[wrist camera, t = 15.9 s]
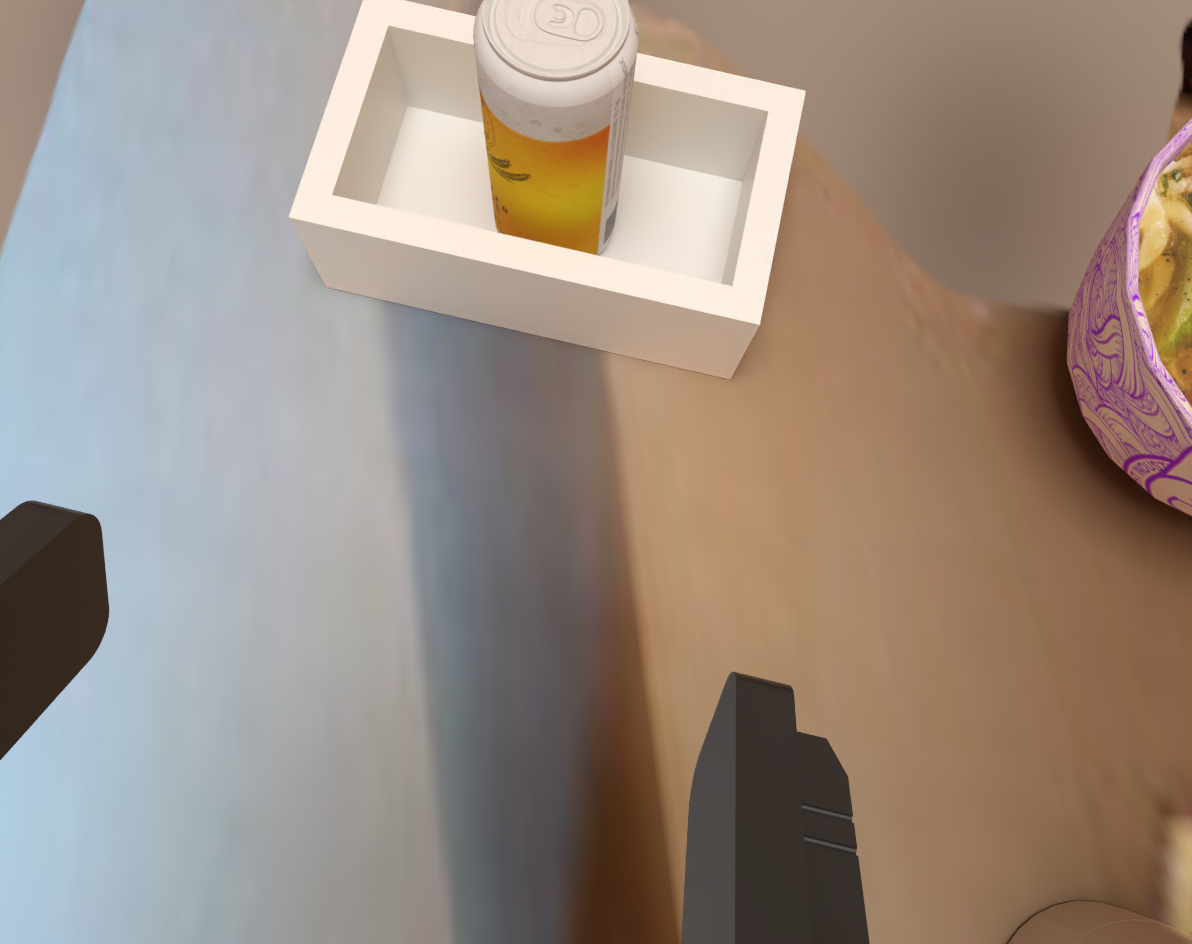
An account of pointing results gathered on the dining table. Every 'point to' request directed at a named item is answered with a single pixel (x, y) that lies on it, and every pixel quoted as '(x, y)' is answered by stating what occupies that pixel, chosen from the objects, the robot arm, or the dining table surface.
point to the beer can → (556, 115)
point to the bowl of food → (1142, 330)
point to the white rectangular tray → (533, 269)
